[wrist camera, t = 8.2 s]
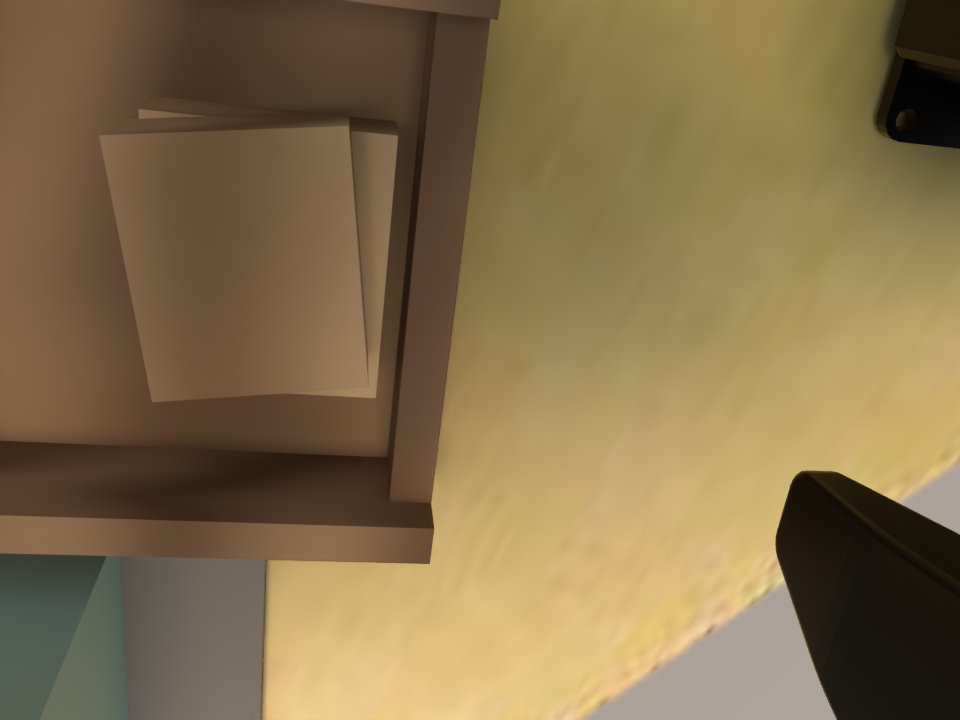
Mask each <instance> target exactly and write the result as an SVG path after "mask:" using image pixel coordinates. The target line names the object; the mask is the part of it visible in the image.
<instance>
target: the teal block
mask: <svg viewBox="0 0 960 720" xmlns="http://www.w3.org/2000/svg"><path fill="white" fill-rule="evenodd" d="M0 720H129V716H128V698H127V681H126V663H125V646H124V628H123V610H122V593H121V575H120V558H119V556H91V555H50V554H10V553H0Z"/></svg>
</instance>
